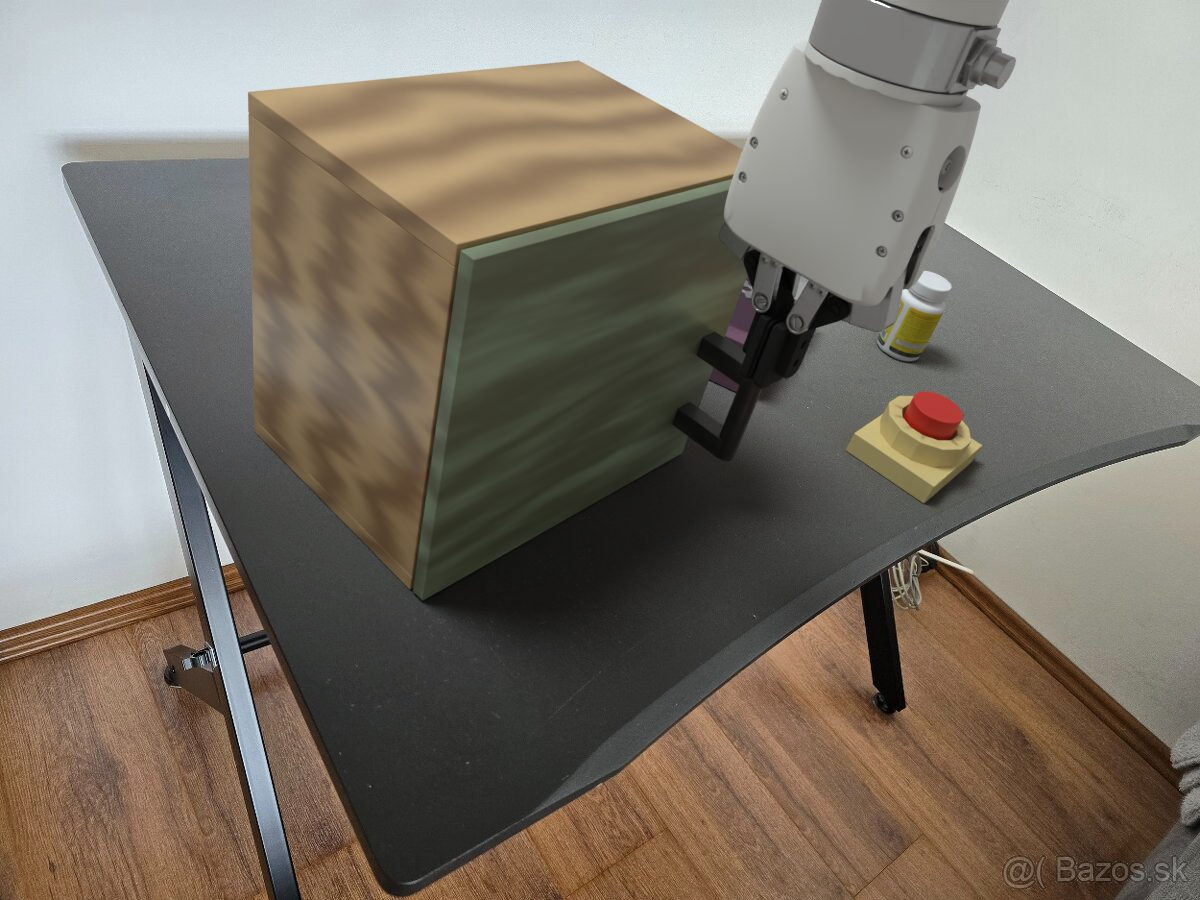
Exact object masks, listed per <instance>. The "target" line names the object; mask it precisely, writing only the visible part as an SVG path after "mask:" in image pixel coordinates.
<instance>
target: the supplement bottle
mask: <svg viewBox="0 0 1200 900" xmlns="http://www.w3.org/2000/svg"><path fill="white" fill-rule="evenodd" d="M952 288H953V287H952V283H951V282H950V281H949V280H948V279H946V278H945V277H944V276H941V275H940V274H938V273H935V272H932V271H929V270H924V271H923V273H922V275H921V277H920V278H919V280H918V281H917V283H916V284H915V285H914V286H912V287H911V288H910V289H908V290H907V289H903V291H902V296H901V301H900V306H899V311H898V315H897V320H896V322H895V323H894V324H893V325H892V326H890V327H888V328H886V329H885V330H883V331H880V332H879V335H878V336H877V338H876V339H877V340H876V343H877V346H878V347H879V349H880V350H881V351H882V352H884V353H885V354H886V355H888V356H889V357H891V358H893V359H896V360H898V361H902V362H915V361H917V360H919V359H920V358H921V357H922V354H923V353H924V351H925V349H926V346H927V345H928V343H929V341H930V340H931V338H932V335H933V333H934V332H935V329H936V328H937V326H938V324H939V322H940V320H941V318H942V316H943V314H944V312H945V310H946V303H945V302H946V301H947V299H948V298H949V295H950V293H951V291H952Z"/></svg>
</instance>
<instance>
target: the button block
mask: <svg viewBox="0 0 1200 900" xmlns="http://www.w3.org/2000/svg"><path fill="white" fill-rule="evenodd" d="M913 397H914V395H898V396H897V397H895V398H893V399H892V400H890V401H889V402H888V404H887V405H886V407H885V410H884V411H883V413H881V414H880V415H879V416H878V417H875V418H874V419H873V420H872V421H870V422H868V423H867V424H865V425H864V426H862V427H861V428H859V429H858V430H857V431H855V432H854V433H853V435H852V437H851V438H850V440H849V443H848V444H847V446H846V447H845V451H846V452H847V453H848V454H850V455H852V456H853V457H854V458H856V459H857V460H859V461H860V462H862V463H863V464H865V465H866V466H868V467H869V468H870V469H872V470H874V471H875V472H877V473H878V474H880V475H881V476H882V477H884V478H885V479H887V480H888V481H890V482H891V483H893V484H894V485H895V486H897V487H899V488H900V489H901V490H903V491H905V493H907V494H909V495H910V496H911V497H913V498H915V499H916V500H918V501H919V502H921V503H922V504H925V503H926V502H928V501H929V500H931V498H932V497H934V496H935V495H936V494H938V493H939V491H941V490H942V489H943V488H944V487H945V486H946V485H947V484H949V483H950V482H951V481H952V480H953V479H955V477H956V476H958V475H959V474H960V473H961V472H962V471H964V470H965V469H966V468H967V467H969V466H970V464H971V463H973V461H974V460H975V458H976V457H977V455H978V454H979V452H980V450H981V449H982V447H983V444H981V443H979V441H976V440H975V439H973V438H972V437H971V431H970V428H969V427H968V425H967V424H966V423H965V422H964V421H963V420H962V421H961V423H960V424H959V426H958V428H957V429H956V431H955V432H954V434H953V436H952V437H951V438H950V439H949V440H936V439H933V438H930V437H926V436H923V435H922V434H920V433H919V432H917V431H916V430H914V429H913V428H911V427H910V426H909V425H908V423H907V422H906V421H905V420H904V413H905V411H906V409H907V408H908V406H909V404H910V402H911V400H912V398H913Z"/></svg>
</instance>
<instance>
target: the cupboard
mask: <svg viewBox="0 0 1200 900" xmlns="http://www.w3.org/2000/svg"><path fill="white" fill-rule="evenodd" d="M247 112H248V114H247V115H248V117H247V118H248V120H247V121H248V161H249V167H248V168H249V169H248V170H249V213H250V218H249V219H250V261H251V262H250V264H251V266H250V267H251V268H250V269H251V313H252V314H251V315H252V316H251V317H252V318H251V319H252V355H253V356H252V359H253V361H252V363H253V365H252V366H253V409H254V410H253V413H254V416H253V417H254V421H253V422H254V433H255V434H256V435H257V436H258V437H259V438H260V439H261V440H262V442H264V443H265V444H266V445H267V446H268V447H269V448H270V449H271V450H272V451H273V452H274V453H275V455H277V456H278V457H279V458H280V459H281V460H282V462H284V463H285V464H286V465H287V466H288V467H289V469H291V471H293V473H295V475H297V477H298V478H299V479H300V480H302V482H303V483H304V484H305V485H306V486H307V487H308V488H309V489H310V490H311V491H312V492H313V493H314V494H315V495H316V496H317V497H318V498H319V499H320V500H321V501H322V502H323V503H324V504H325V505H326V507H328V508H329V509H330V511H332V512H333V513H334V514H335V516H337V517H338V518H339V520H341V522H342V523H343V524H345V525H346V526H347V528H349V529H350V531H352V533H353V534H354V535H355V536H356V537H357V538H359V540H360V541H361V542H362V543H363V544H364V545H365V546H366V547H367V548H368V549H369V550H370V551H371V552H372V553H373V554H374V555H375V556H376V557H377V558H378V559H379V560H380V561H381V562H382V563H383V565H385V566H386V567H387V569H388V570H390V571H391V572H392V573H393V575H394V576H396V577H397V578H398V580H400V582H401V583H403V584H404V586H405V587H406V588H407V589H408V590H413V587H414V580H415V573H416V566H417V559H418V552H419V545H420V538H421V531H422V524H423V516H424V509H425V502H426V495H427V488H428V481H429V474H430V467H431V460H432V452H433V445H434V438H435V431H436V424H437V417H438V410H439V403H440V396H441V389H442V381H443V374H444V367H445V360H446V353H447V346H448V339H449V332H450V325H451V318H452V310H453V303H454V296H455V289H456V282H457V275H458V268H459V261H460V254H461V250H464V249H467V248H471V247H475V246H479V245H483V244H486V243H490V242H494V241H498V240H502V239H506V238H509V237H513V236H517V235H521V234H525V233H528V232H532V231H536V230H540V229H544V228H547V227H551V226H555V225H559V224H563V223H566V222H570V221H574V220H578V219H582V218H585V217H589V216H593V215H597V214H601V213H605V212H608V211H612V210H616V209H620V208H624V207H627V206H631V205H635V204H639V203H643V202H646V201H650V200H654V199H658V198H662V197H665V196H669V195H673V194H677V193H681V192H684V191H688V190H692V189H696V188H700V187H703V186H707V185H711V184H715V183H719V182H723V181H726V180H730V179H732V178H733V175H734V173H735V170H736V167H737V164H738V162H739V159H740V156H741V153H742V151H743V148H741V147H739V146H737V145H735V144H734V143H732V142H730V141H728V140H727V139H724V138H722V137H720V136H719V135H718V134H715V133H713V132H712V131H709V130H708V129H707V128H704V127H702V126H700V125H698V124H697V123H695V122H693V121H691V120H690V119H687V118H686V117H684V116H682V115H680V114H678V113H677V112H675V111H672V110H671V109H669V108H668V107H665V106H663V105H662V104H660V103H658V102H657V101H654V100H653V99H651V98H649V97H647V96H646V95H643V94H641V93H640V92H639V91H636V90H634V89H633V88H630V87H629V86H627V85H625V84H623V83H621V82H619V81H618V80H616V79H614V78H612V77H611V76H609V75H606V74H605V73H603V72H601V71H600V70H598V69H595V68H594V67H592V66H590V65H588V64H587V63H585V62H582V61H581V60H569V61H559V62H549V63H538V64H526V65H517V66H516V65H515V66H506V67H495V68H487V69H486V68H483V69H476V70H475V69H473V70H464V71H453V72H442V73H433V74H422V75H421V74H420V75H410V76H402V77H390V78H379V79H369V80H358V81H349V82H348V81H347V82H338V83H326V84H316V85H306V86H305V85H304V86H295V87H285V88H274V89H265V90H263V89H262V90H256V91H255V90H254V91H252V90H251V91H248V92H247Z"/></svg>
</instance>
